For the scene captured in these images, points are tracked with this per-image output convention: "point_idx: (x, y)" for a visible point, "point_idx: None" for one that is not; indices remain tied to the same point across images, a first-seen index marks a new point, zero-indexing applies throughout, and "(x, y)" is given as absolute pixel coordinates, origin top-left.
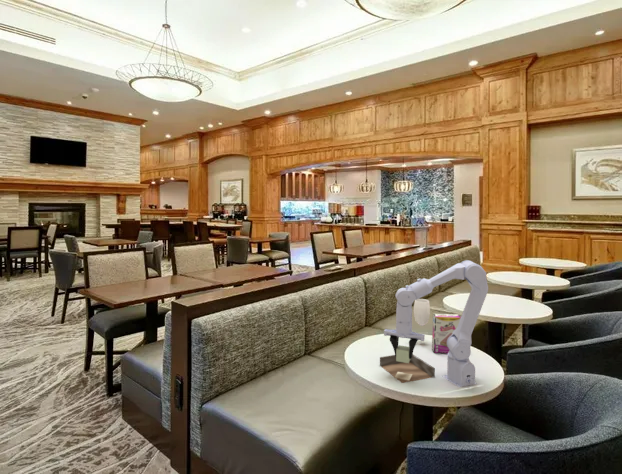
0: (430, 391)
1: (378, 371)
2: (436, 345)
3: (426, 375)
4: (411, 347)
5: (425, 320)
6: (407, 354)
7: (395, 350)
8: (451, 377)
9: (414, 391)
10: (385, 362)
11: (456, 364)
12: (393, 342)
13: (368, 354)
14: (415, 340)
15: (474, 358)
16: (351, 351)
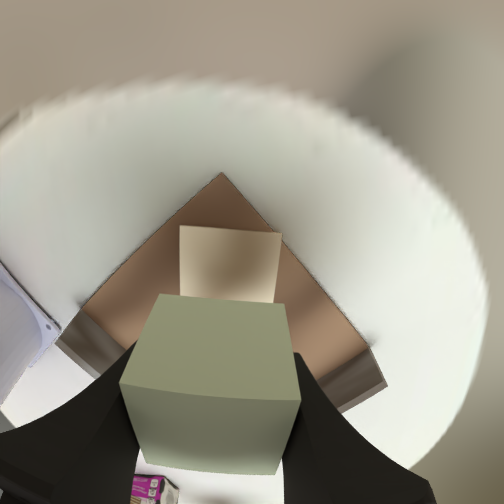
0: (60, 157)
1: (378, 299)
2: (153, 497)
3: (112, 321)
4: (69, 422)
5: None
6: (146, 353)
7: (308, 395)
8: (5, 300)
9: (134, 113)
10: (347, 375)
11: None
12: (365, 477)
13: (404, 420)
14: (18, 500)
15: None
16: (457, 409)
